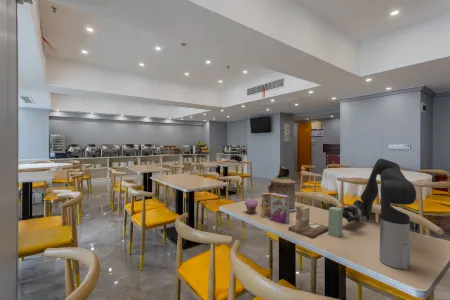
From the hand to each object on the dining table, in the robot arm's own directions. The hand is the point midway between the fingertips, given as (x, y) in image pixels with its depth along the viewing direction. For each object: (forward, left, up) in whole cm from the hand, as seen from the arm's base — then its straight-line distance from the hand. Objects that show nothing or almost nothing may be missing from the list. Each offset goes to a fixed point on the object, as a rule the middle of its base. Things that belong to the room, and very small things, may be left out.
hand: (339, 217), depth 117 cm
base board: (+12, +10, -8) cm, 17 cm away
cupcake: (+53, +13, -8) cm, 55 cm away
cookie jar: (+48, -15, -8) cm, 51 cm away
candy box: (+41, +9, -8) cm, 43 cm away
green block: (0, +5, -8) cm, 10 cm away
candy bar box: (+31, +11, -8) cm, 34 cm away
